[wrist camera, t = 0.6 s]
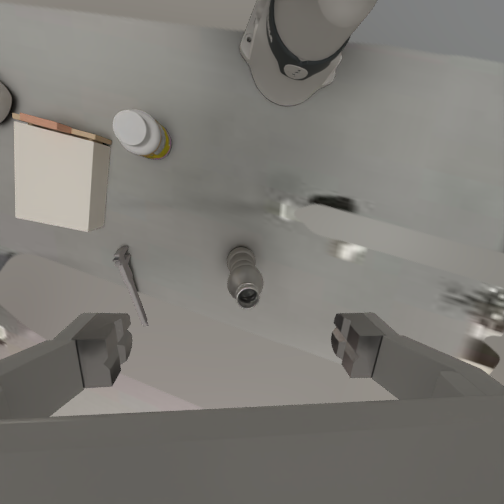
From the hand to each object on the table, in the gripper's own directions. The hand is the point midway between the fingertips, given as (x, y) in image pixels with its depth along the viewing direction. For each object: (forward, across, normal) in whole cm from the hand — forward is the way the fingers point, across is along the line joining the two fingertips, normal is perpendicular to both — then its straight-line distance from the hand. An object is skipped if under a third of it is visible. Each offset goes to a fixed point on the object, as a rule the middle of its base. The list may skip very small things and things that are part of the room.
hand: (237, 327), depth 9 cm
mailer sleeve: (+44, +31, -4) cm, 54 cm away
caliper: (+44, +21, +19) cm, 53 cm away
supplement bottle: (+44, +15, -12) cm, 48 cm away
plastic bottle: (+44, -3, +12) cm, 46 cm away
